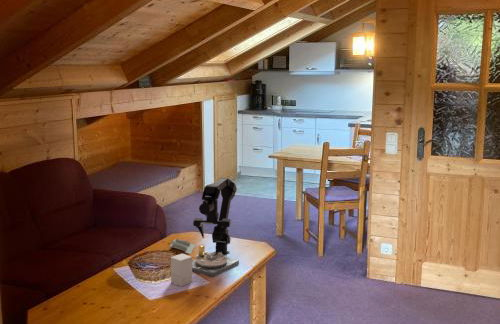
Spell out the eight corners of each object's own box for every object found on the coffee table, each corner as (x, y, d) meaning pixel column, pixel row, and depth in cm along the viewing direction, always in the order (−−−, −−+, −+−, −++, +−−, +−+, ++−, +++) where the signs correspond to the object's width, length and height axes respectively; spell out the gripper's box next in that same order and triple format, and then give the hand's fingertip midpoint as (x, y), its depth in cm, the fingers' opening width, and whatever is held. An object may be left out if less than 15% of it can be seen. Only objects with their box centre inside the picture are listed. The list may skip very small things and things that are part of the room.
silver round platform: (233, 260, 274) (233, 247, 273) (214, 270, 261) (214, 256, 260) (208, 254, 283) (208, 241, 282) (189, 263, 270) (189, 249, 269)
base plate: (210, 256, 287) (210, 252, 287) (238, 263, 277) (238, 259, 276) (182, 268, 269) (182, 264, 269) (212, 277, 259) (212, 272, 258)
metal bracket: (168, 243, 290) (174, 235, 304) (165, 253, 291) (172, 244, 306) (193, 251, 289) (198, 242, 304) (190, 261, 290) (195, 252, 305)
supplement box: (192, 282, 252) (192, 256, 250) (180, 286, 247) (180, 260, 245) (182, 277, 257) (182, 252, 255) (170, 282, 252) (170, 256, 250)
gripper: (231, 205, 281) (231, 233, 284) (196, 204, 282) (197, 232, 285) (229, 211, 270) (229, 240, 273) (192, 210, 271) (193, 239, 274)
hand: (212, 238), depth 277 cm, fingers open, 9 cm apart
